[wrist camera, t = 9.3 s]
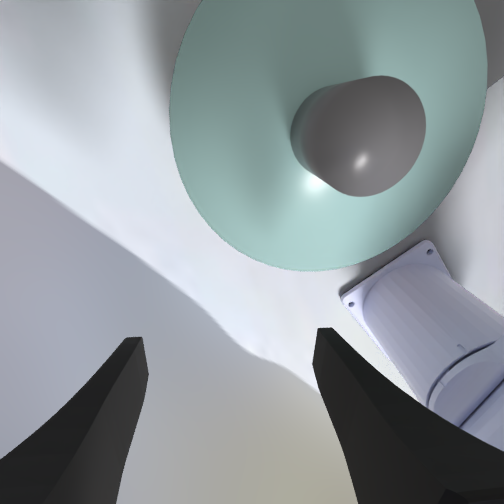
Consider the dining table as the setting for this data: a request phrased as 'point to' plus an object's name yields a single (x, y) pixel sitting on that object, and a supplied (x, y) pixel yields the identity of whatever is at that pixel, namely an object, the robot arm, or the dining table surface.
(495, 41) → the mat
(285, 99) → the lid
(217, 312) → the dining table surface
